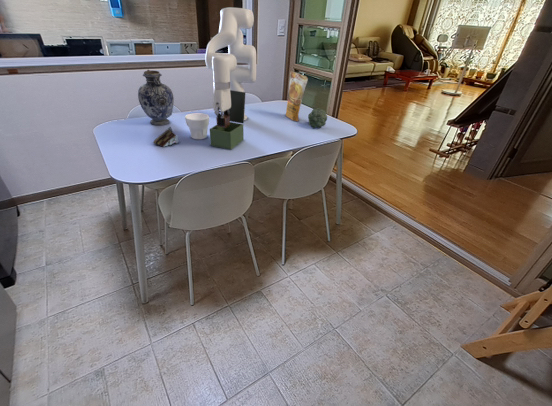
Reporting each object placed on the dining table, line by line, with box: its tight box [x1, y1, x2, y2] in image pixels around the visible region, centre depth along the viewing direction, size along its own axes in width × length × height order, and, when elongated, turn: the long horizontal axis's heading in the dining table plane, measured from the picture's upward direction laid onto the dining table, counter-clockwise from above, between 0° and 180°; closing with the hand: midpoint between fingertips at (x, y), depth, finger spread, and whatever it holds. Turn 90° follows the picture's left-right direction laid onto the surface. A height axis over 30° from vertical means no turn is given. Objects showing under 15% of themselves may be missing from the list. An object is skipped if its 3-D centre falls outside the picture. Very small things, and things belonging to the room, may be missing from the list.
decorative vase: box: [137, 69, 175, 126], centre depth 163 cm, size 21×19×28 cm
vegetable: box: [307, 107, 328, 129], centre depth 180 cm, size 12×13×15 cm
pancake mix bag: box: [285, 70, 309, 122], centre depth 186 cm, size 7×19×28 cm, turn 26°
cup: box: [184, 112, 210, 140], centre depth 153 cm, size 12×12×11 cm
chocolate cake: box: [152, 126, 180, 148], centre depth 145 cm, size 10×7×12 cm
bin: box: [209, 121, 244, 151], centre depth 149 cm, size 15×12×9 cm
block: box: [215, 115, 231, 128], centre depth 142 cm, size 5×5×5 cm
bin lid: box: [229, 90, 246, 124], centre depth 149 cm, size 15×12×1 cm
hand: (223, 123), depth 143 cm, fingers closed on block, 4 cm apart
